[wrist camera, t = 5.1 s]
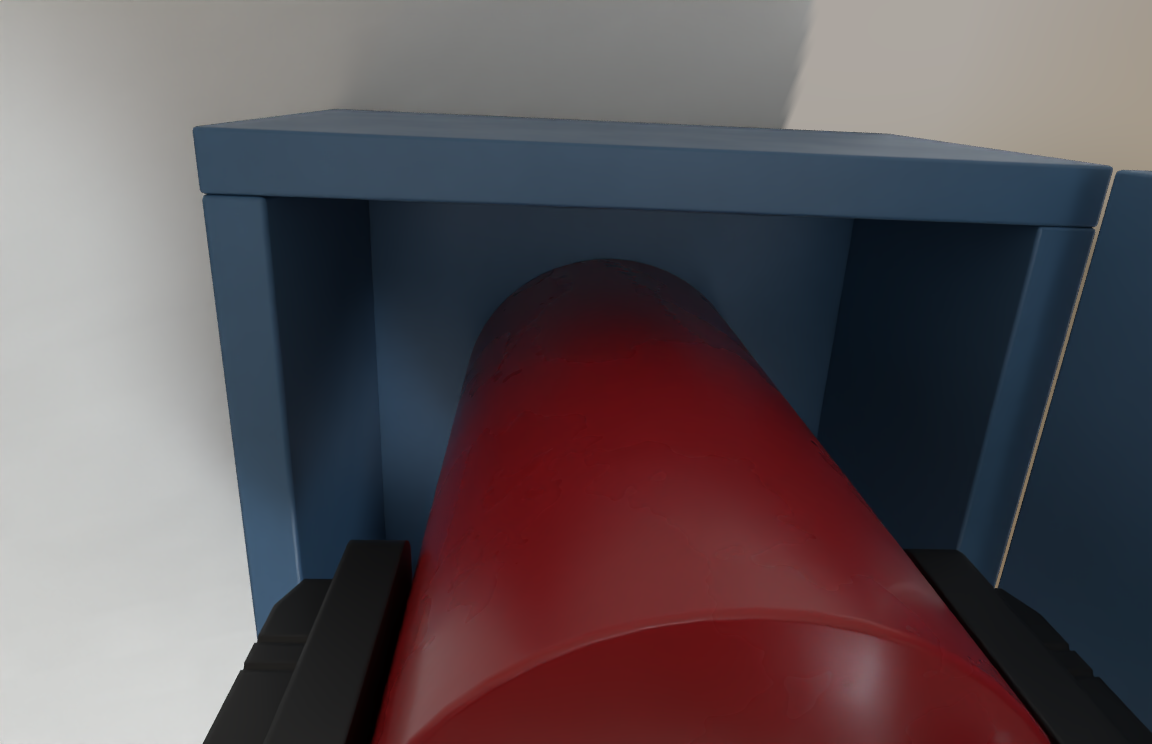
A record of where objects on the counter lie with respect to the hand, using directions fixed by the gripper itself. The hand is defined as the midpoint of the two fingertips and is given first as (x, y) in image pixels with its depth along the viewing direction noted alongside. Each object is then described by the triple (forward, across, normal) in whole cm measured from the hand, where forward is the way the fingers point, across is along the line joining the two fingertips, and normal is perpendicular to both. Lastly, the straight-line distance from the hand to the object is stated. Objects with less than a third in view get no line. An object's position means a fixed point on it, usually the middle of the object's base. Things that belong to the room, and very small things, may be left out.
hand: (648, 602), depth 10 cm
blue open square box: (+8, 0, 0) cm, 8 cm away
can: (+7, 0, 0) cm, 7 cm away
